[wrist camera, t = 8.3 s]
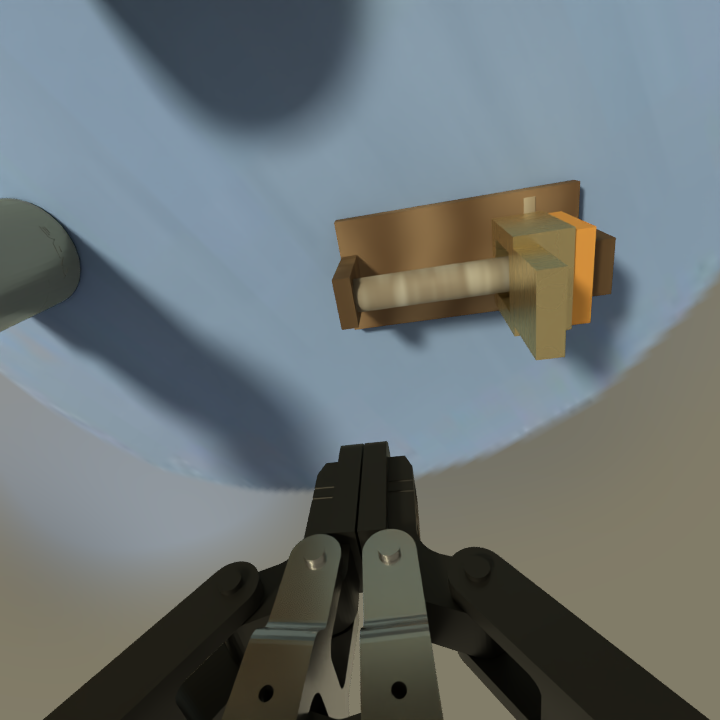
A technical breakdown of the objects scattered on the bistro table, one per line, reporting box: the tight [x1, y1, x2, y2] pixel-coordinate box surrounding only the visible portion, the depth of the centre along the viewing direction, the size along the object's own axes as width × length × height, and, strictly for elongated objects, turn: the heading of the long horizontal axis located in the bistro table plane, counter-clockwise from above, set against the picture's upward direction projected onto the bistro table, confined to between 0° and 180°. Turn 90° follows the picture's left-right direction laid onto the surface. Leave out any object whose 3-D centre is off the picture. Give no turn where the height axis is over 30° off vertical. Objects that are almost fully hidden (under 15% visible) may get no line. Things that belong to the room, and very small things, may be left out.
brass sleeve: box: [491, 211, 576, 360], centre depth 27 cm, size 4×6×11 cm, turn 10°
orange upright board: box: [548, 211, 596, 325], centre depth 29 cm, size 1×6×6 cm, turn 10°
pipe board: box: [332, 180, 616, 330], centre depth 32 cm, size 18×9×8 cm, turn 100°
